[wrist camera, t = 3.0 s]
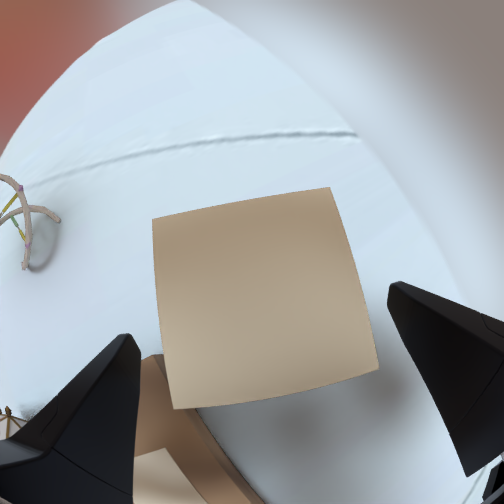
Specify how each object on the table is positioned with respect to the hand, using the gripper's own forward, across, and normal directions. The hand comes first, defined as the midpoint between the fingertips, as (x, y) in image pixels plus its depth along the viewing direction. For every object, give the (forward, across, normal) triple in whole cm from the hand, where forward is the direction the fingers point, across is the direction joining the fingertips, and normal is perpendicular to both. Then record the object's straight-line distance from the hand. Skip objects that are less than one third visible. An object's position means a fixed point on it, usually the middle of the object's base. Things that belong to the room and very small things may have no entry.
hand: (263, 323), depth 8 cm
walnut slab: (-1, +8, +13) cm, 15 cm away
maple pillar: (+6, 0, +6) cm, 8 cm away
